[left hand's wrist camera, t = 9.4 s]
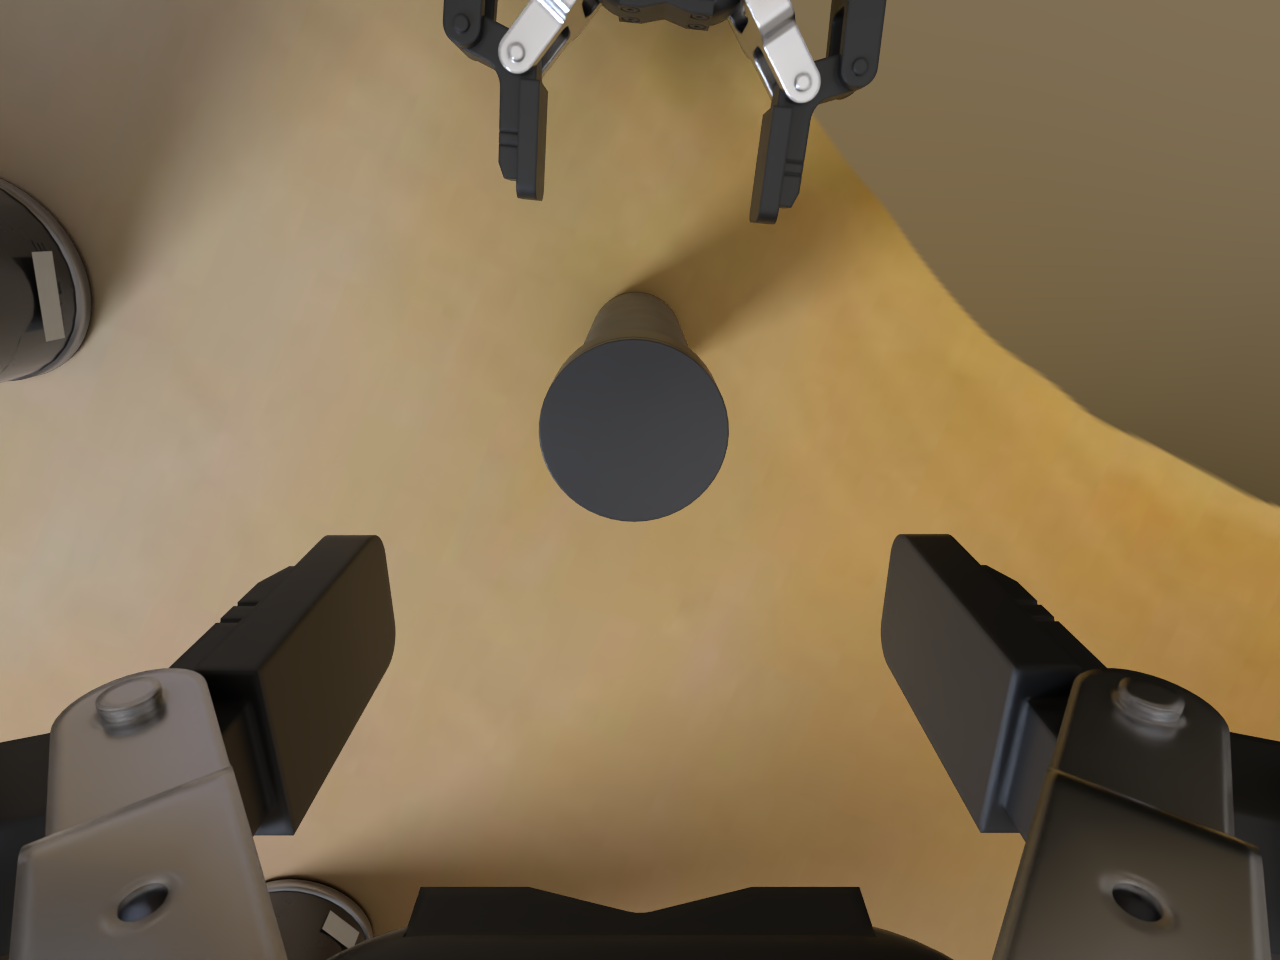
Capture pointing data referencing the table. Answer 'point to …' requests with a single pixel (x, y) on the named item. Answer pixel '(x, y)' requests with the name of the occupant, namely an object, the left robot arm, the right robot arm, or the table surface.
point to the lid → (633, 426)
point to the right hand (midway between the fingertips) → (647, 211)
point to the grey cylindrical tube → (636, 316)
